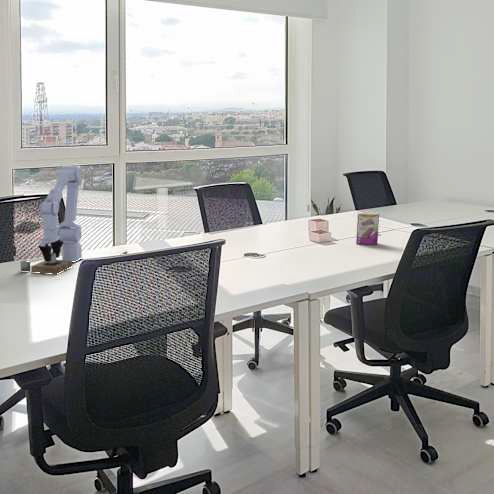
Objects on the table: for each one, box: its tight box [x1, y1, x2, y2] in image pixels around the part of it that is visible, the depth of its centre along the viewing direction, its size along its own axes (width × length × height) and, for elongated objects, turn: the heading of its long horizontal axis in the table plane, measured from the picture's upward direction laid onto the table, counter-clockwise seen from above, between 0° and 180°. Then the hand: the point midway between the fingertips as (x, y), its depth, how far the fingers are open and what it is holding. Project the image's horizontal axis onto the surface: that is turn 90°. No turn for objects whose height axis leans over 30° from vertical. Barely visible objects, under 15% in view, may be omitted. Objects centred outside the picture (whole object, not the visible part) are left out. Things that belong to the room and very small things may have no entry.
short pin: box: [19, 259, 31, 272], centre depth 296 cm, size 4×4×4 cm
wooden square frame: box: [30, 259, 74, 274], centre depth 299 cm, size 14×12×3 cm
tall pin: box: [47, 252, 57, 266], centre depth 298 cm, size 4×4×8 cm
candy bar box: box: [355, 211, 380, 246], centre depth 359 cm, size 11×5×16 cm, turn 84°
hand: (51, 259), depth 298 cm, fingers open, 7 cm apart
